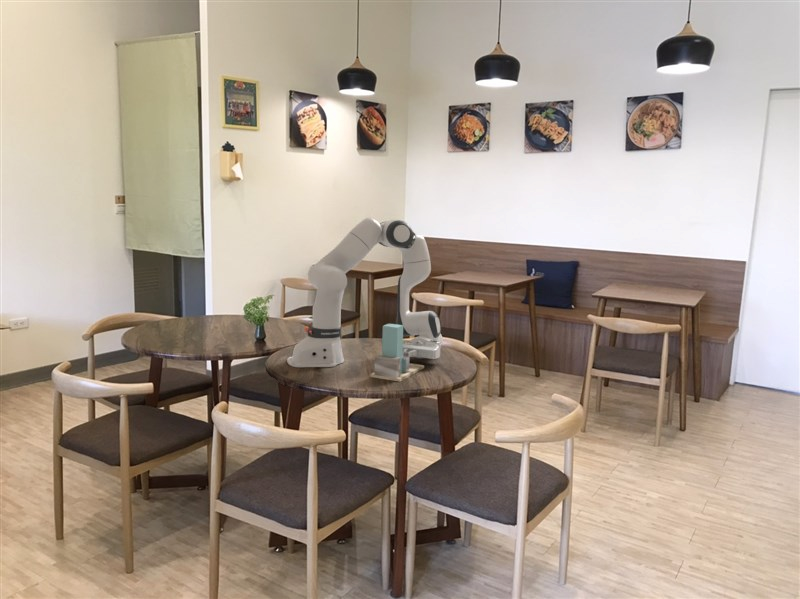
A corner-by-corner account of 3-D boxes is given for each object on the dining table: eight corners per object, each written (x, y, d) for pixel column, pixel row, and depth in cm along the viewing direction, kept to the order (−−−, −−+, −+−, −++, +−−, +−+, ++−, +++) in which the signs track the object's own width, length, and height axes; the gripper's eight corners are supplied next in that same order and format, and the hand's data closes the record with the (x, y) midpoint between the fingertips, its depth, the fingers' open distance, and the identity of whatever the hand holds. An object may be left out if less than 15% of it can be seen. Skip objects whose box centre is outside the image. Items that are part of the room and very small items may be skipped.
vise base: (396, 363, 255) (397, 344, 254) (424, 367, 250) (424, 347, 249) (370, 376, 236) (371, 355, 234) (400, 381, 231) (400, 360, 229)
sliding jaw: (387, 367, 245) (388, 354, 244) (409, 370, 241) (409, 357, 240) (384, 369, 242) (384, 355, 241) (405, 372, 238) (406, 358, 237)
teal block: (387, 370, 241) (388, 323, 238) (402, 372, 239) (403, 325, 236) (381, 373, 237) (382, 325, 234) (396, 375, 234) (397, 327, 232)
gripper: (397, 336, 264) (382, 343, 252) (443, 342, 255) (430, 349, 243) (397, 351, 265) (382, 358, 253) (443, 357, 256) (429, 365, 244)
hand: (406, 354), depth 248 cm, fingers closed
